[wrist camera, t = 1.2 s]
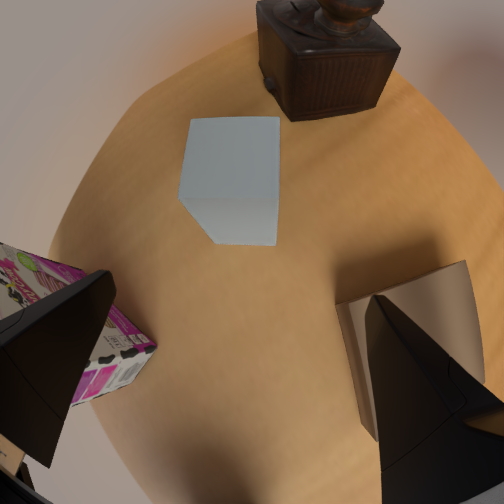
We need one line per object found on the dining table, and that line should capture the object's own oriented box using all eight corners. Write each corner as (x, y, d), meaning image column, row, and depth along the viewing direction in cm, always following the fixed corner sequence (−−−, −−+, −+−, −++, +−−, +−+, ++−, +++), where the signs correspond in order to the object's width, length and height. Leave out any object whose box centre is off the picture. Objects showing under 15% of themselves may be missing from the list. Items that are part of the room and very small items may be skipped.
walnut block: (361, 423, 19) (376, 441, 15) (335, 304, 22) (348, 303, 18) (460, 375, 19) (485, 382, 15) (440, 267, 22) (465, 259, 18)
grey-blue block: (275, 245, 23) (279, 198, 13) (215, 244, 23) (177, 197, 14) (277, 189, 24) (279, 116, 14) (220, 188, 24) (191, 119, 15)
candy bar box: (162, 344, 22) (3, 378, 6) (133, 384, 21) (-13, 442, 5) (82, 264, 24) (-57, 215, 8) (59, 303, 23) (-77, 282, 7)
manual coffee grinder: (252, 64, 28) (237, -69, 10) (336, 52, 28) (355, -66, 10) (301, 169, 24) (332, -21, 7) (400, 147, 24) (484, 13, 7)
